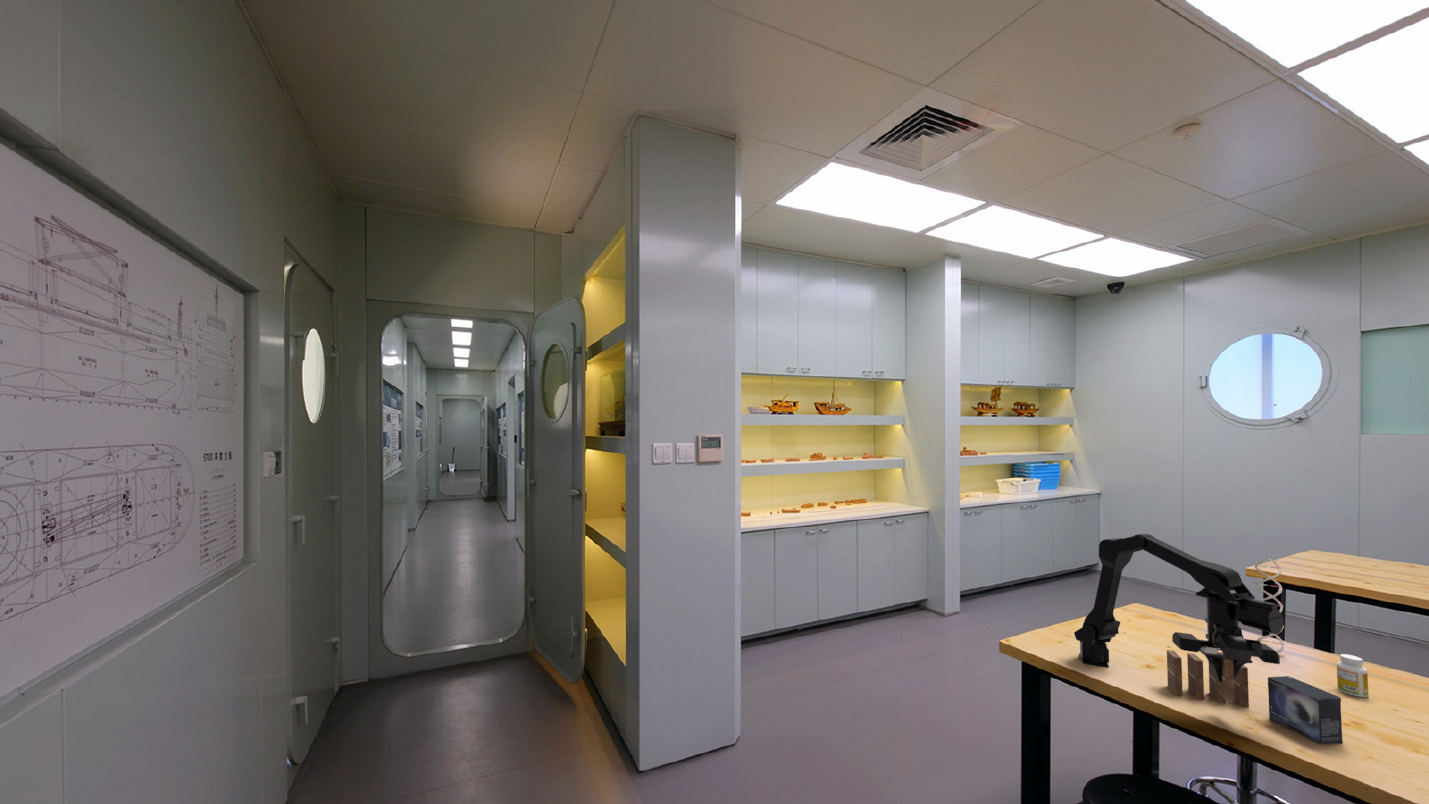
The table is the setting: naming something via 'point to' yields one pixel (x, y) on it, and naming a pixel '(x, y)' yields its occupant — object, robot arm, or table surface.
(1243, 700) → the domino
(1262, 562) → the dna model
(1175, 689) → the domino
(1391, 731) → the table surface
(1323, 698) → the small box
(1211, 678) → the domino
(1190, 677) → the domino
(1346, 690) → the supplement bottle
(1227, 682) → the domino
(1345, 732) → the table surface
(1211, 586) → the robot arm
